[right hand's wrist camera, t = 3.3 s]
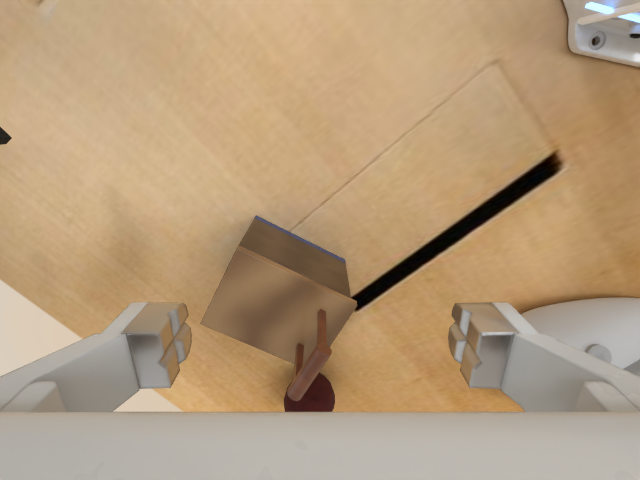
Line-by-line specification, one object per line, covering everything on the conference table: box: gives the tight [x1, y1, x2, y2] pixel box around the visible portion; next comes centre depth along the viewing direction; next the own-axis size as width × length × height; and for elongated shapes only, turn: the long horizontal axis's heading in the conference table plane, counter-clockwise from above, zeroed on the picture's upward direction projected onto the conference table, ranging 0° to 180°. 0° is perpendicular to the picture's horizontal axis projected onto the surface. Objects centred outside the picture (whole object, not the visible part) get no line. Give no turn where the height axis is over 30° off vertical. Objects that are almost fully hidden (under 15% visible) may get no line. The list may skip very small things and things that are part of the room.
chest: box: [239, 216, 351, 298], centre depth 41 cm, size 13×10×10 cm
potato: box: [284, 373, 335, 412], centre depth 50 cm, size 7×8×7 cm
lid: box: [201, 245, 357, 401], centre depth 33 cm, size 14×10×8 cm
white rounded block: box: [520, 297, 640, 412], centre depth 43 cm, size 22×23×15 cm
